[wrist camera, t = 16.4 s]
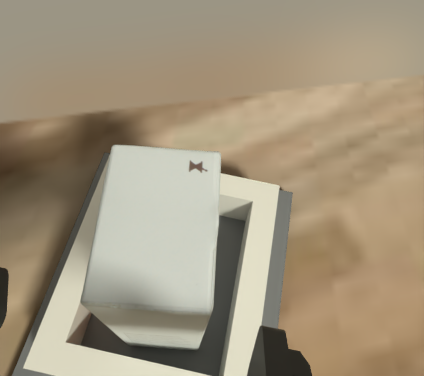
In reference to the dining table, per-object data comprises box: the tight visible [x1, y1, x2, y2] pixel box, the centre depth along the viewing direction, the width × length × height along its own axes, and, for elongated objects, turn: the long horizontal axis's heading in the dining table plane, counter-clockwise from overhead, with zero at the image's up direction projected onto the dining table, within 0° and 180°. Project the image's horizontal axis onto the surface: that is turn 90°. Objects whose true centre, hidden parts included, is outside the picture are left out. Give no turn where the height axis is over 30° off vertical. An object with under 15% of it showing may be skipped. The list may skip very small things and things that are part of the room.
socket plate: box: [12, 153, 293, 376], centre depth 23 cm, size 14×16×4 cm
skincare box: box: [80, 145, 221, 350], centre depth 18 cm, size 6×4×12 cm
